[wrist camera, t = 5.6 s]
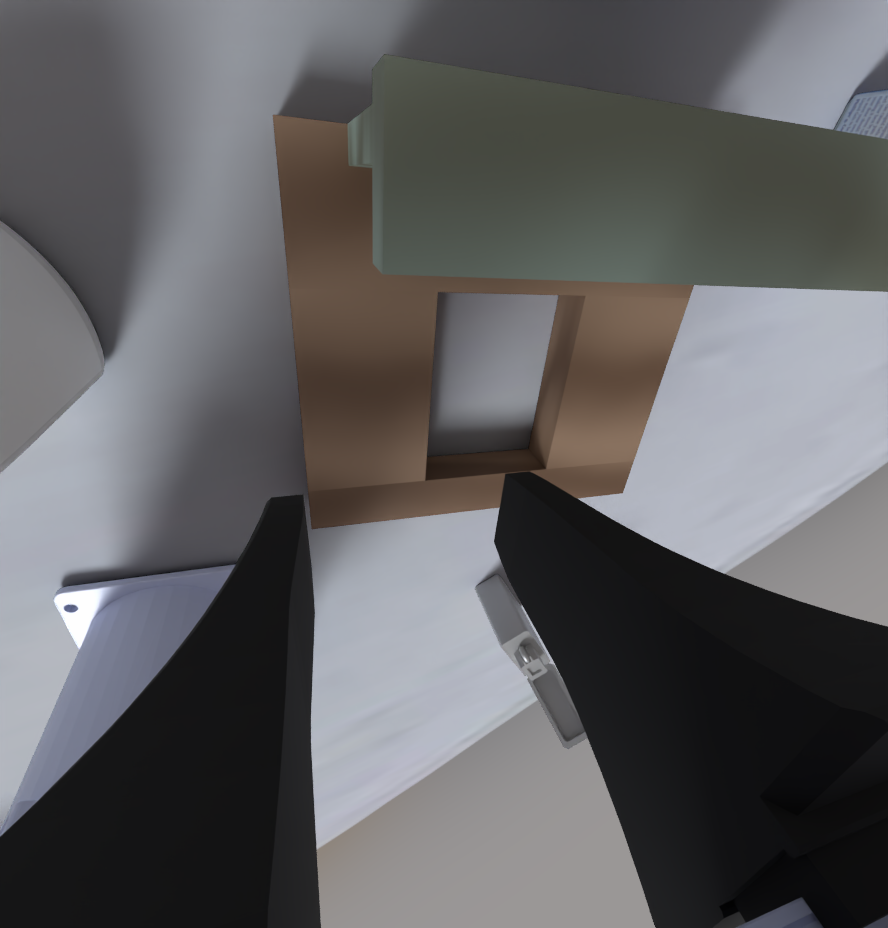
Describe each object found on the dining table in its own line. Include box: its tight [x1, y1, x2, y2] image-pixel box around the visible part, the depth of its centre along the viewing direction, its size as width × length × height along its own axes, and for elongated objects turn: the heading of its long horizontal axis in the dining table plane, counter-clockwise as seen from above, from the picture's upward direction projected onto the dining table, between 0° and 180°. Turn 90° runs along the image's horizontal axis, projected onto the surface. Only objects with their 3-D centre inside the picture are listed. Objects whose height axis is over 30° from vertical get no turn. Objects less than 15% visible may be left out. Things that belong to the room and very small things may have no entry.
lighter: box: [475, 575, 588, 749], centre depth 27 cm, size 7×2×8 cm, turn 28°
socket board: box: [273, 54, 888, 529], centre depth 16 cm, size 14×16×11 cm
